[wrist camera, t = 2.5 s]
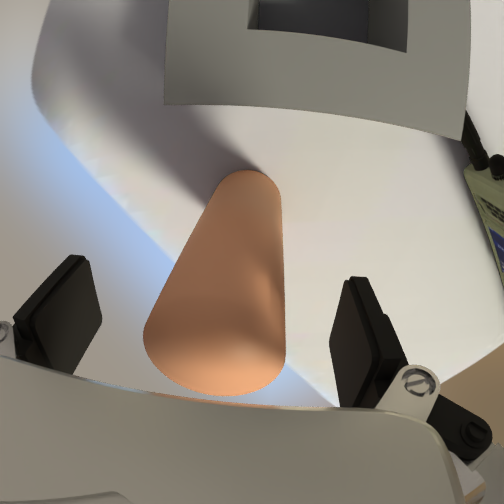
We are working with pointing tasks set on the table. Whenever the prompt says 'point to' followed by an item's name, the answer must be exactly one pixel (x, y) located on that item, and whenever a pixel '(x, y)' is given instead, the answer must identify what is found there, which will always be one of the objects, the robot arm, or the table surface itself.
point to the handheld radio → (486, 188)
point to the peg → (225, 295)
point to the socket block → (326, 63)
